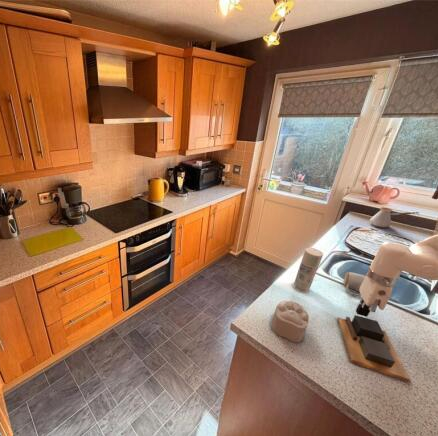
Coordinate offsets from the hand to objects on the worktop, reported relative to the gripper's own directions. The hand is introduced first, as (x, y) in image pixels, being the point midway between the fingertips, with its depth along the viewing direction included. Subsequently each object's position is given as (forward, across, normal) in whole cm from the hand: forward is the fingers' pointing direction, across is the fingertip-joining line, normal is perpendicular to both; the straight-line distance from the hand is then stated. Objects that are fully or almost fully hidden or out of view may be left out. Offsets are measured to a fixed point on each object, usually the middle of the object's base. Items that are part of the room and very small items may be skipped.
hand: (361, 313), depth 89 cm
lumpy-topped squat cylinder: (+4, -15, +25) cm, 29 cm away
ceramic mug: (+4, +21, -4) cm, 22 cm away
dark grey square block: (+3, -7, 0) cm, 7 cm away
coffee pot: (+4, +112, -44) cm, 121 cm away
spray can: (+4, +12, +18) cm, 22 cm away
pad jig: (+4, -12, 0) cm, 13 cm away
